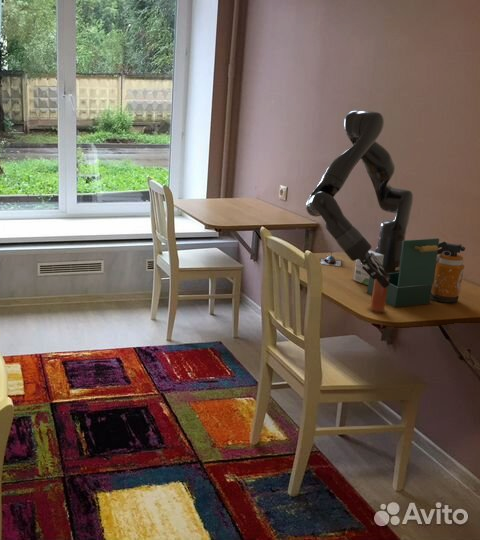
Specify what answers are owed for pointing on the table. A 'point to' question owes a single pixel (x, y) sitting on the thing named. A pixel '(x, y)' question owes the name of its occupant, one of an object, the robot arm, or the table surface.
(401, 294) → the chest
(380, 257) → the ink box
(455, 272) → the canister
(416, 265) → the lid
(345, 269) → the table surface
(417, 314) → the table surface
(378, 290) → the jar
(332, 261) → the bomb figurine
